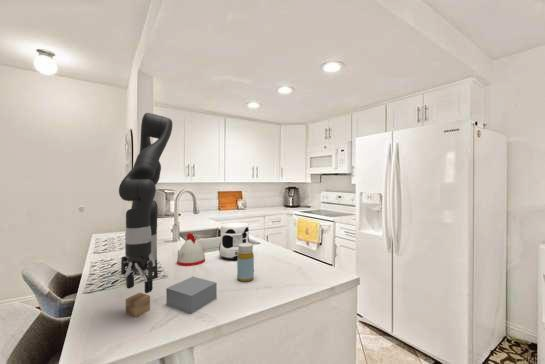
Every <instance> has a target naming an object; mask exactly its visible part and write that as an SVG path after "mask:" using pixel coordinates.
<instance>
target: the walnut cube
mask: <svg viewBox="0 0 545 364" xmlns="http://www.w3.org/2000/svg"><path fill="white" fill-rule="evenodd" d="M150 310H151V295H150V294H148V293H143V292H138V293H136V294H134V295H131V296H128V297H127V298H125V315H128V316H130V317H133V318H138V317H140V316H142V315H144V314H146V313H147V312H149V311H150Z"/></svg>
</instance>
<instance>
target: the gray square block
mask: <svg viewBox="0 0 545 364" xmlns="http://www.w3.org/2000/svg"><path fill="white" fill-rule="evenodd" d="M217 284H218V283H217V282H215V281H212V280H208V279H204V278H201V277H197V276H190V277H188V278H186V279H184V280H182V281H180V282H177V283H174V284H173V285H170V286H169V287H168V286H167V287H166V289H165V290H166V299H165V300H166V305H167V306H169V307H172V308H173V309H178V310H180V311H183V312H185V313H189V314H194V313H195V312H197V311H198V310H200V309H202V308H203V307H204V306H206V305H208V304H210V303H211V302H213V301H214V300H216V299H217V291H218V290H217V288H218V287H217Z"/></svg>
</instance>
